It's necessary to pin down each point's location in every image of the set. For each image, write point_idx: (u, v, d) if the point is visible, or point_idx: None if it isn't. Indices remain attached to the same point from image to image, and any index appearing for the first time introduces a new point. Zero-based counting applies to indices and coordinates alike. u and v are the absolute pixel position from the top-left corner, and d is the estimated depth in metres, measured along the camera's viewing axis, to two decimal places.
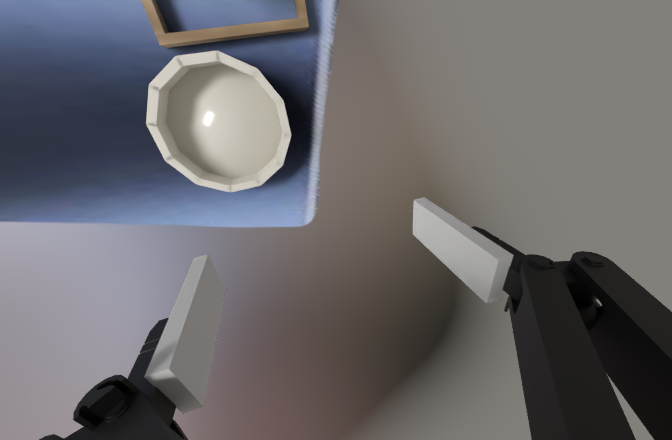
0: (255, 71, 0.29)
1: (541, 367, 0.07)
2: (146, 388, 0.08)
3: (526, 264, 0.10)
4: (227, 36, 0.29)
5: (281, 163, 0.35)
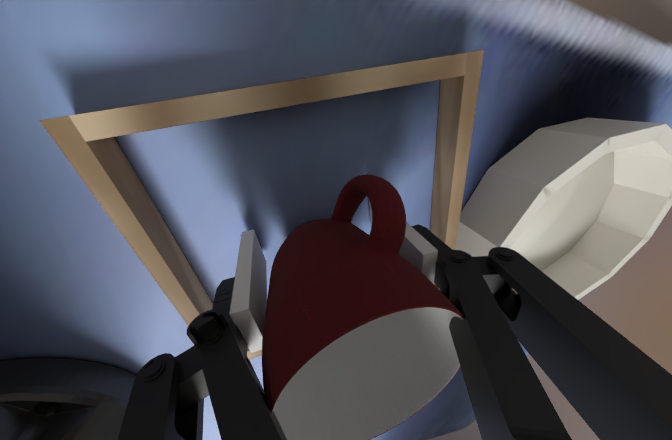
0: (546, 191, 0.15)
1: (476, 361, 0.07)
2: None
3: (448, 260, 0.10)
4: None
5: None
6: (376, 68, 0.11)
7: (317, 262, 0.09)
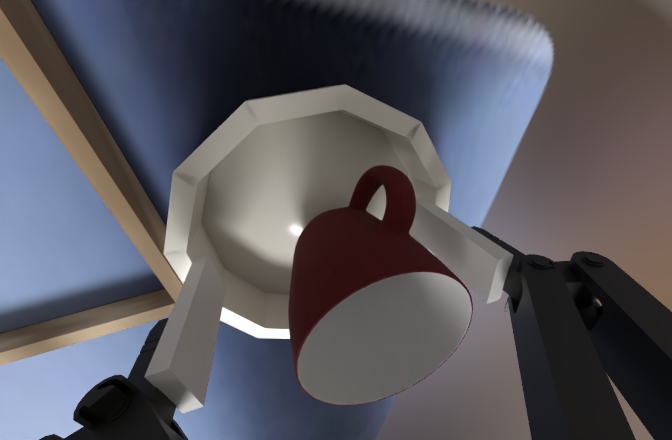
0: (182, 177, 0.11)
1: (542, 367, 0.07)
2: (146, 388, 0.08)
3: (526, 264, 0.10)
4: (137, 216, 0.13)
5: (415, 124, 0.13)
6: None
7: (337, 238, 0.11)
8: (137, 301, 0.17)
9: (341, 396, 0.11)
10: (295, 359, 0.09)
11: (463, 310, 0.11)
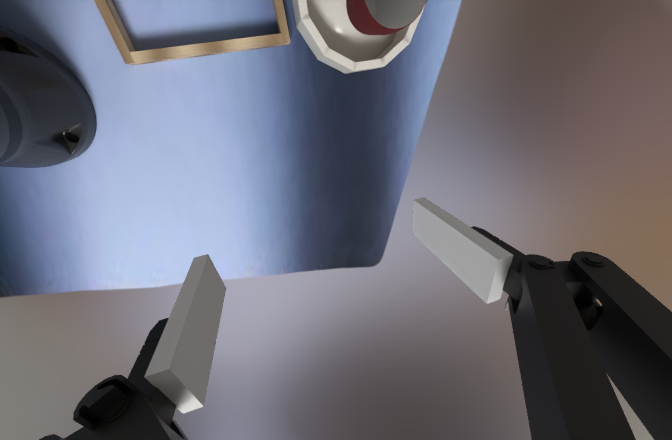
0: None
1: (541, 367, 0.07)
2: (146, 388, 0.08)
3: (526, 264, 0.10)
4: None
5: None
6: None
7: None
8: None
9: None
10: None
11: None
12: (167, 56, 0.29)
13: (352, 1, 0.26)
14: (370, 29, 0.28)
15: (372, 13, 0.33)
